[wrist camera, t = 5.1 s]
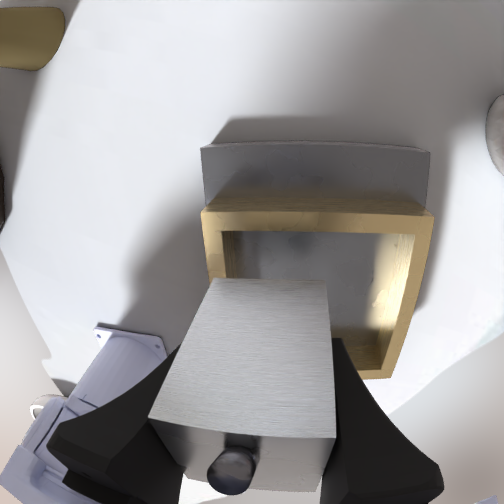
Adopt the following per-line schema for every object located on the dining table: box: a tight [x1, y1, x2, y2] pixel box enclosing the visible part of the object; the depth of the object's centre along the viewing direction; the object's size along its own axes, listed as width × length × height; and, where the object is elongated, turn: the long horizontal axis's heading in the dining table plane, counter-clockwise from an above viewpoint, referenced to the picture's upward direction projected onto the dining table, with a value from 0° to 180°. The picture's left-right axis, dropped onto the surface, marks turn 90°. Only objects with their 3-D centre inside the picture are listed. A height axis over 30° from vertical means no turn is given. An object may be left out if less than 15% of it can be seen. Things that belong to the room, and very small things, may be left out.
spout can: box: [148, 278, 336, 495], centre depth 9 cm, size 5×5×8 cm
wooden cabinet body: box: [200, 141, 435, 380], centre depth 19 cm, size 18×13×4 cm
